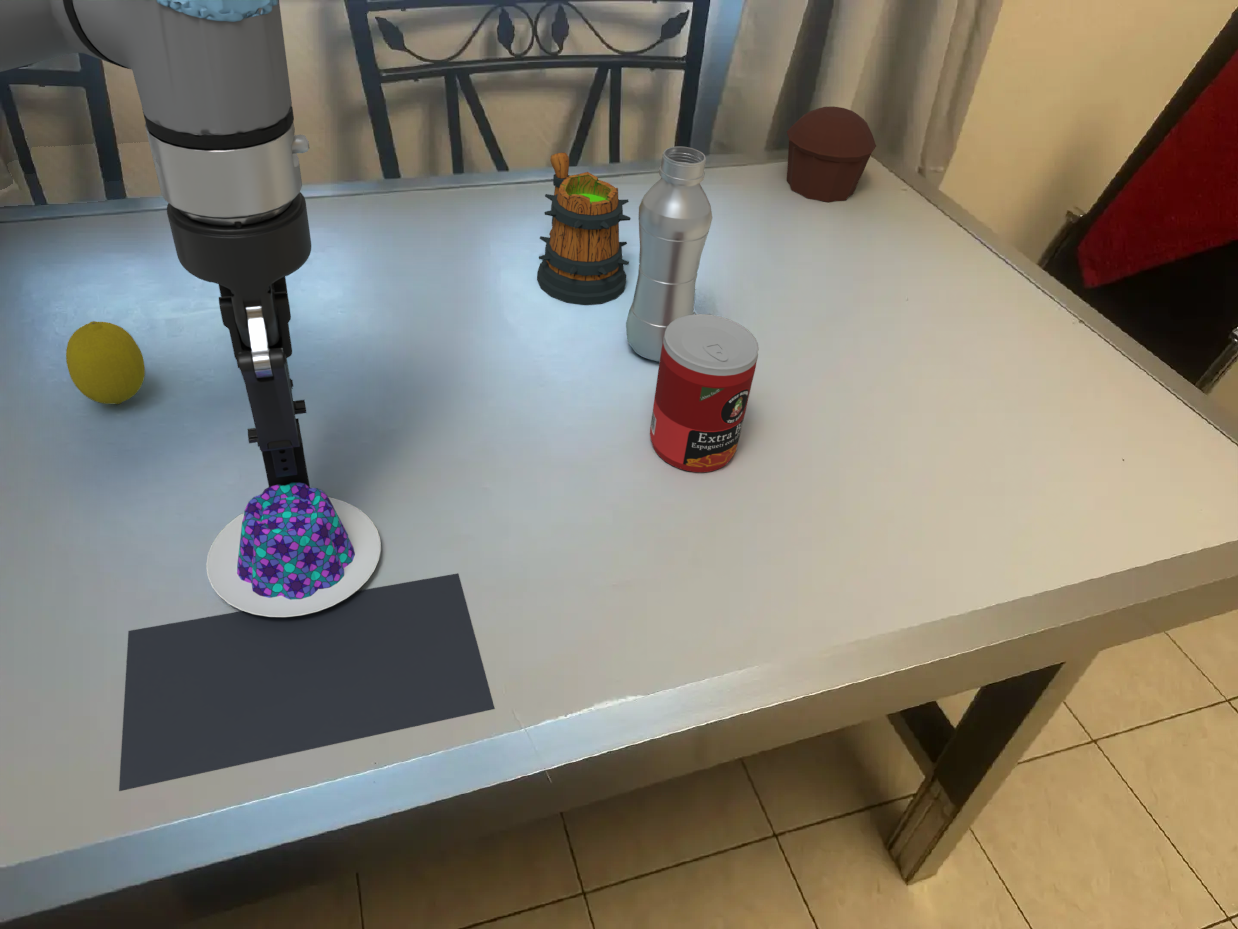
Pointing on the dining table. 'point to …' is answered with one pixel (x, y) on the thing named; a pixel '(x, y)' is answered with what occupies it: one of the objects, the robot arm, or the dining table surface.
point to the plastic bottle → (669, 249)
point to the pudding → (293, 553)
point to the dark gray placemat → (297, 679)
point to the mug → (582, 239)
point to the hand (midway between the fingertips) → (291, 495)
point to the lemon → (105, 362)
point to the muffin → (828, 153)
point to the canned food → (702, 391)
